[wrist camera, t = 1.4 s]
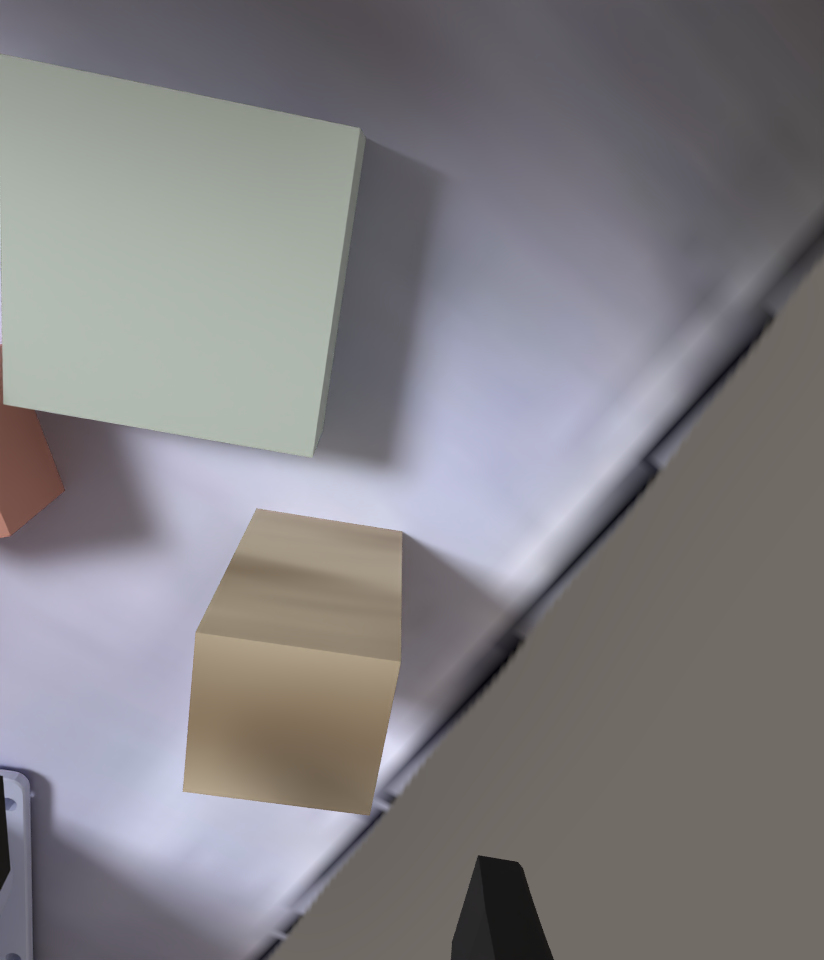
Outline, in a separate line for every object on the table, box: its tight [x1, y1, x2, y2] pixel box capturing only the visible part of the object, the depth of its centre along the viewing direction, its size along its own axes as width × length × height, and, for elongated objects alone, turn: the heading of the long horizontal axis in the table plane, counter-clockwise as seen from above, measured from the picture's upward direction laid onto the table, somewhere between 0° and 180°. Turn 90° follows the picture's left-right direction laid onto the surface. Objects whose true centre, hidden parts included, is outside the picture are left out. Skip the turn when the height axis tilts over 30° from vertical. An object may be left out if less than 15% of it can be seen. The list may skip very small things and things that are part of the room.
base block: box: [0, 54, 366, 458], centre depth 16 cm, size 7×7×2 cm
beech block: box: [183, 509, 402, 815], centre depth 17 cm, size 4×4×6 cm
